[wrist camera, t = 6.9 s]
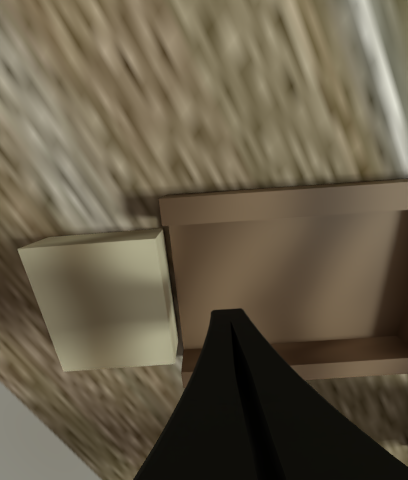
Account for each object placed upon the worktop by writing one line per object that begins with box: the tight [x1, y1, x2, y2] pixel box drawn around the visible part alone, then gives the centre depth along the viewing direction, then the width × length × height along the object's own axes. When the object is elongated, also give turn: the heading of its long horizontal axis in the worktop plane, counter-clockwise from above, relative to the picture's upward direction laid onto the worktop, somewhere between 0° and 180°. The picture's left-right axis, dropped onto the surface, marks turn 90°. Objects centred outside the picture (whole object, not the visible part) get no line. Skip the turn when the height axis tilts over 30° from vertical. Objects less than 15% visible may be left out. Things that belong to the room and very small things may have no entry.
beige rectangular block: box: [17, 228, 179, 371], centre depth 11 cm, size 6×8×2 cm
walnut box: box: [159, 179, 408, 388], centre depth 11 cm, size 15×11×2 cm
